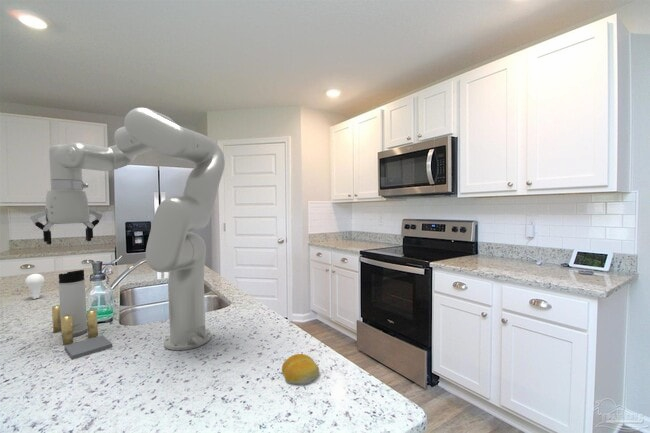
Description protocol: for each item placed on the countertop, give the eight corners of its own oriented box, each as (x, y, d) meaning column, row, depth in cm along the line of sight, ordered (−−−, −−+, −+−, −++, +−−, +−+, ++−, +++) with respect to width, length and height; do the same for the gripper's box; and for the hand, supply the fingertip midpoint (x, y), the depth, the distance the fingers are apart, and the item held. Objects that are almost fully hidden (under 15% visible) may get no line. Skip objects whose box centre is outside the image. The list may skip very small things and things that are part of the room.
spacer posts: (99, 336, 96) (97, 310, 96) (63, 346, 90) (62, 318, 89) (84, 323, 107) (83, 300, 106) (52, 331, 100) (51, 306, 100)
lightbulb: (36, 301, 133) (34, 275, 132) (22, 301, 133) (20, 275, 132) (49, 296, 139) (47, 272, 138) (35, 297, 139) (34, 272, 138)
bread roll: (288, 390, 67) (287, 371, 67) (279, 369, 76) (279, 353, 75) (324, 381, 70) (324, 364, 70) (312, 362, 79) (311, 347, 78)
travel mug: (74, 338, 94) (70, 272, 93) (56, 337, 96) (52, 272, 95) (93, 330, 101) (90, 268, 100) (76, 329, 102) (73, 267, 101)
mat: (112, 347, 88) (112, 343, 88) (72, 359, 82) (71, 355, 82) (102, 338, 94) (102, 335, 94) (64, 349, 88) (64, 345, 88)
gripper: (97, 187, 105) (99, 238, 106) (26, 186, 92) (29, 244, 93) (104, 187, 100) (106, 240, 101) (30, 185, 87) (33, 246, 88)
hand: (69, 242), depth 97 cm, fingers open, 9 cm apart
